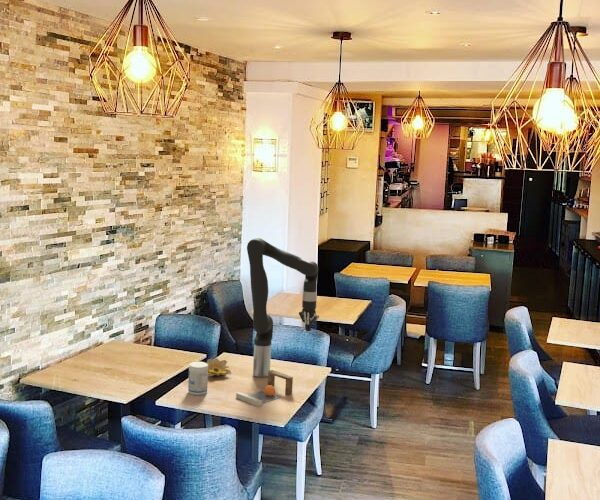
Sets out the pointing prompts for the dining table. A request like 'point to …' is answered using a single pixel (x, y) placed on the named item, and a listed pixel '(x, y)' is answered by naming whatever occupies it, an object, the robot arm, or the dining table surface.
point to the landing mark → (263, 396)
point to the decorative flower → (217, 367)
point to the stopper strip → (249, 399)
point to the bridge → (288, 378)
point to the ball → (269, 390)
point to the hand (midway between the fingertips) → (308, 330)
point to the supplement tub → (198, 378)
